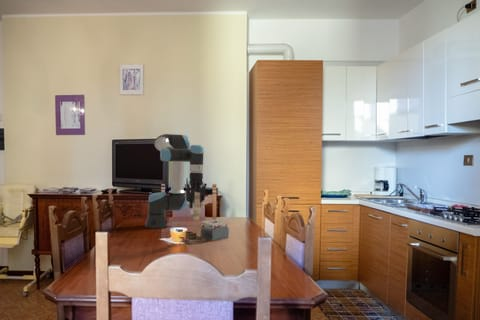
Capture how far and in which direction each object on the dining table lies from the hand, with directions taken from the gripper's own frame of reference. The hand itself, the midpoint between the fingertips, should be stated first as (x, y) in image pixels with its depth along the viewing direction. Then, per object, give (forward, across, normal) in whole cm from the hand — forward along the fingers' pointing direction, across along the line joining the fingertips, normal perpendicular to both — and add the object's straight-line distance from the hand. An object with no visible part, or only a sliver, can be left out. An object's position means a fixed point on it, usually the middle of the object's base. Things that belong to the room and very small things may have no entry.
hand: (195, 213), depth 177 cm
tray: (+16, 0, 0) cm, 16 cm away
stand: (+16, +3, +10) cm, 20 cm away
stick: (+4, 0, 0) cm, 4 cm away
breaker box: (+16, +15, +1) cm, 22 cm away
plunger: (+11, +15, +1) cm, 19 cm away
